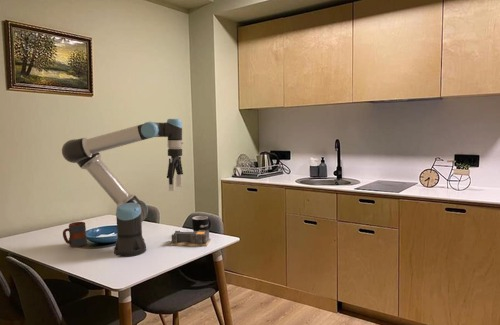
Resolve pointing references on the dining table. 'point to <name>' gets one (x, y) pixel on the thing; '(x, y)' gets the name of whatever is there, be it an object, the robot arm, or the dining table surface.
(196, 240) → the grey block assembly
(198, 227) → the mug
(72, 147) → the robot arm
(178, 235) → the cable bar
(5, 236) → the dining table surface
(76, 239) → the mug
